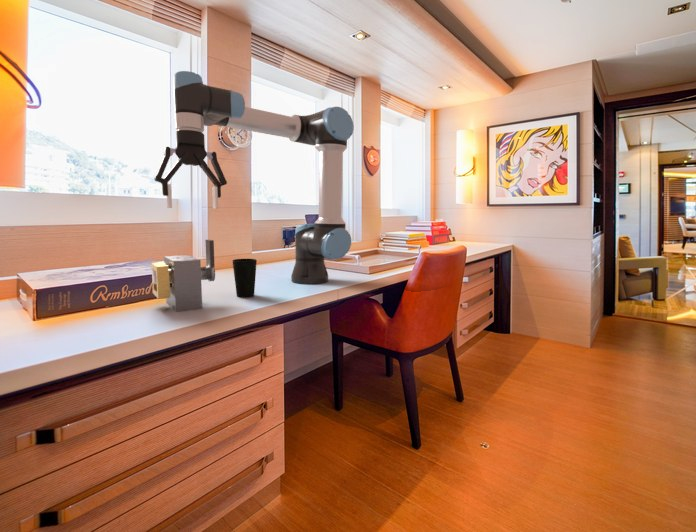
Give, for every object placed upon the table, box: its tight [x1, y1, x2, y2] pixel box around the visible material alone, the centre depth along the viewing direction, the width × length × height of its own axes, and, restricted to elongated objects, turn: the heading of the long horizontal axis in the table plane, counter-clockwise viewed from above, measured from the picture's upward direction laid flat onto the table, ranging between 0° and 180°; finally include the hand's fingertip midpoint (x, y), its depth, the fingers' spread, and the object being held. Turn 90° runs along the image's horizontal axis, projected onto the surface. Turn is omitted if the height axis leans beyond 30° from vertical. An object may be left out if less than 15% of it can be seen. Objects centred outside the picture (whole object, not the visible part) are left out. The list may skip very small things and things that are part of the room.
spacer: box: [150, 261, 170, 300], centre depth 106 cm, size 3×9×9 cm, turn 35°
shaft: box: [152, 239, 216, 284], centre depth 109 cm, size 16×5×13 cm, turn 125°
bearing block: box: [163, 254, 203, 313], centre depth 110 cm, size 7×14×14 cm, turn 35°
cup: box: [232, 258, 258, 299], centre depth 123 cm, size 8×8×12 cm
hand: (193, 208), depth 109 cm, fingers open, 12 cm apart
